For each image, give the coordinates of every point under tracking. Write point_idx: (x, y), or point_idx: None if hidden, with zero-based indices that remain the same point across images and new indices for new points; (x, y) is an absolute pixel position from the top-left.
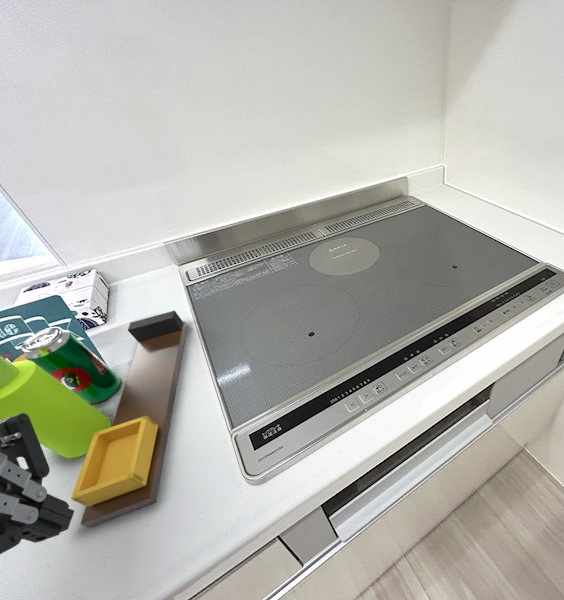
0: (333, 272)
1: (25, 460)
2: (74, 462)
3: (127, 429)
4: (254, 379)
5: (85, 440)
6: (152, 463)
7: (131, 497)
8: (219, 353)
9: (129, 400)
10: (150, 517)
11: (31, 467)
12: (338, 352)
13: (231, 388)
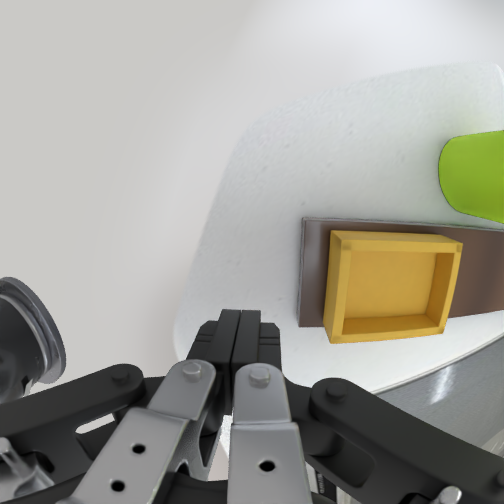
0: (481, 448)
1: (346, 482)
2: (431, 162)
3: (440, 293)
4: (414, 410)
5: (459, 197)
6: None
7: (315, 297)
8: (486, 356)
9: (493, 248)
10: (274, 314)
11: (324, 471)
12: None
13: (423, 387)
